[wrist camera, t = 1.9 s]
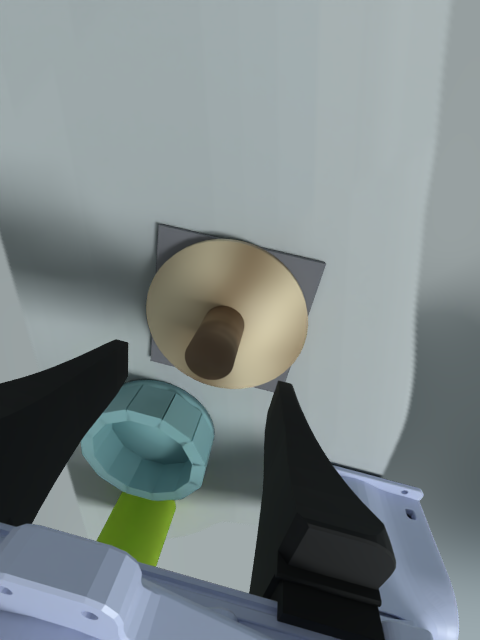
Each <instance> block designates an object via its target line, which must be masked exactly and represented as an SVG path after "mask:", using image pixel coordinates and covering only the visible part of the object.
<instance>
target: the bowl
mask: <svg viewBox="0 0 480 640" xmlns="http://www.w3.org/2000/svg"><path fill="white" fill-rule="evenodd" d="M214 435H215V432H214V425H213V422H212V419H211V417H210V415H209V414H208V412H207V410H206V409H205V408H204V407H203V405H202V404H201V403H200V402H199V401H198V400H197V399H195V398H194V397H193V396H192V395H190V394H189V393H187V392H186V391H184V390H182V389H180V388H178V387H176V386H174V385H171V384H168V383H165V382H161V381H156V380H135V381H131V382H127V383H125V384H123V386H122V387H121V389H120V391H119V392H118V394H117V395H116V397H115V398H114V399H113V400H112V402H111V403H110V404H109V406H108V407H107V408H106V409H105V411H104V412H103V413H102V414H101V416H100V417H99V418H98V419H97V421H96V422H95V423H94V424H93V426H92V427H91V428H90V429H89V431H88V432H87V433H86V435H85V436H84V437H83V439H82V440H81V448H82V454H83V456H84V457H85V459H86V460H87V461H88V463H89V464H90V465H91V467H92V468H93V469H94V471H95V472H96V473H97V474H98V476H99V477H101V478H102V479H104V480H106V481H107V482H109V483H110V484H112V485H113V486H115V487H117V488H118V489H120V490H121V491H123V492H125V491H126V493H127V494H131V495H135V496H138V497H142V498H145V499H149V500H152V501H154V500H155V501H164V500H179V499H183V498H185V497H186V496H188V495H190V494H191V493H193V492H194V491H196V490H197V489H199V488H200V487H201V486H202V482H203V478H204V475H205V471H206V468H207V464H208V461H209V457H210V453H211V448H212V445H213V441H214Z"/></svg>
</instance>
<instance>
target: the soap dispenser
mask: <svg viewBox="0 0 480 640" xmlns="http://www.w3.org/2000/svg"><path fill="white" fill-rule="evenodd" d="M175 509H176V505H175V502H174V500H164V501H155V500H154V501H152V500H149V499H145V498H142V497H138V496H135V495H131V494H127V493H126V491H125V492H123V491H122V493H121V495H120V497H119V499H118V501H117V503H116V505H115V507H114V508H113V510H112V512H111V514H110V516H109V518H108V520H107V522H106V524H105V526H104V528H103V529H102V531H101V533H100V535H99V537H98V539H97V541H98V542H101V543H105V544H108V545H112V546H114V547H116V548H119V549H121V550H123V551H126V552H127V553H128V554H130V555H131V556H132V557H133V558H135V559H136V560H137V562H141V563H144V564H148V565H151V566H155V567H156V565H157V562H158V559H159V556H160V553H161V550H162V547H163V544H164V541H165V539H166V536H167V533H168V530H169V527H170V524H171V521H172V518H173V515H174V512H175Z"/></svg>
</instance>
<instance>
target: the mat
mask: <svg viewBox="0 0 480 640" xmlns="http://www.w3.org/2000/svg"><path fill="white" fill-rule="evenodd" d="M211 239H224V238H219V237H215V236H211V235H206V234H202V233H198V232H194V231H189V230H185V229H181V228H177V227H172V226H168V225H164V224H160V225H159V229H158V246H157V262H156V273H157V272H158V270H159V269H160V268H161V267H162V265H163V264H164V263H165V262H166V261H167V260H169V259H170V258H171V257H172V256H173V255H175V254H176V253H178V252H179V251H181V250H182V249H184V248H186V247H188V246H190V245H192V244H195V243H197V242H201V241H205V240H211ZM260 248H262V247H260ZM262 249H264V250H266V251H267V252H269V253H271V254H272V255H274V256H275V257H276V258H277V259H279V260H280V261H281V262H282V263H283V264H284V265H285V266H286V267H287V268H288V269H289V270H290V271H291V273H292V274H293V276H294V277H295V278H296V280H297V282H298V284H299V286H300V288H301V290H302V292H303V295H304V298H305V302H306V308H307V315H309V312H310V309H311V306H312V303H313V300H314V297H315V294H316V291H317V289H318V286H319V283H320V280H321V277H322V274H323V271H324V268H325V265H326V263H325V262H322V261H317V260H313V259H309V258H305V257H300V256H296V255H292V254H287V253H283V252H279V251H275V250H270V249H266V248H262ZM151 361H154V362H158V363H162V364H166V365H170V366H174V365H173V364H171V363H170V362H169V360H168V359H167V358H166V357H165V356H164V355H163V353H162V352H161V351H160V350H159V348H158V346H157V345H156V343H155V341H154V339H153V337H152V345H151ZM174 367H175V366H174ZM290 367H291V366H290ZM290 367H289V368H288V369H287V370H286V371H285V372H284V373H283V374H281V375H280V376H278V377H277V378H275V379H273V380H271V381H269V382H267V383H264V384H262V385H259V386H255V388H259V389H263V390H267V391H271V392H275V389H276V386H277V382H278V381H282V382H285V381H286V378H287V375H288V373H289V370H290Z"/></svg>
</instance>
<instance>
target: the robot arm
mask: <svg viewBox="0 0 480 640" xmlns="http://www.w3.org/2000/svg"><path fill="white" fill-rule="evenodd" d="M127 377H128V342H124V341H120V340H113V341H111V342H109V343H106V344H104V345H102V346H100V347H98V348H96V349H94V350H92V351H89V352H87V353H85V354H83V355H81V356H78V357H76V358H74V359H72V360H69V361H67V362H64V363H62V364H59V365H57V366H55V367H52V368H49V369H47V370H44V371H41V372H38V373H35V374H32V375H29V376H26V377H23V378H19V379H15V380H12V381H8V382H5V383H1V384H0V640H458V635H459V617H458V609H457V603H456V598H455V594H454V590H453V587H452V584H451V581H450V578H449V576H448V573H447V571H446V568H445V566H444V563H443V561H442V558H441V555H440V553H439V550H438V548H437V545H436V543H435V540H434V538H433V535H432V533H431V530H430V528H429V525H428V522H427V520H426V517H425V515H424V512H423V510H422V507H421V505H420V502H419V500H420V499H421V498H422V497H423V492H422V490H421V489H420V488H417V487H413V486H409V485H406V484H402V483H398V482H394V481H391V480H387V479H383V478H379V477H376V476H372V475H368V474H364V473H361V472H357V471H353V470H349V469H346V468H342V467H338V466H334V465H332V464H331V462H330V461H329V459H328V458H327V456H326V455H325V453H324V452H323V450H322V448H321V447H320V445H319V443H318V442H317V440H316V438H315V436H314V434H313V432H312V431H311V429H310V427H309V425H308V423H307V420H306V418H305V416H304V414H303V412H302V409H301V407H300V405H299V402H298V400H297V397H296V394H295V391H294V388H293V386H292V384H290V383H286V382H282V381H278V382H277V386H276V389H275V392H274V395H273V398H272V401H271V404H270V407H269V410H268V413H267V420H266V427H265V441H264V481H263V494H262V502H261V511H260V519H259V527H258V535H257V542H256V550H255V557H254V564H253V571H252V578H251V585H250V592H249V593H245V592H242V591H238V590H235V589H232V588H228V587H224V586H221V585H218V584H214V583H211V582H207V581H204V580H200V579H196V578H193V577H189V576H186V575H183V574H179V573H175V572H172V571H168V570H165V569H161V568H158V567H155V566H151V565H148V564H144V563H141V562H137V560H136V559H135V558H133V557H132V556H131V555H130V554H128V553H127V552H126V551H123V550H121V549H119V548H116V547H114V546H112V545H108V544H105V543H101V542H98V541H94V540H91V539H87V538H83V537H80V536H76V535H73V534H69V533H66V532H62V531H59V530H55V529H52V528H48V527H45V526H41V525H35V524H32V522H33V521H34V519H35V517H36V515H37V513H38V511H39V509H40V508H41V506H42V504H43V502H44V501H45V499H46V497H47V495H48V493H49V492H50V490H51V488H52V487H53V485H54V483H55V482H56V480H57V478H58V477H59V475H60V473H61V472H62V470H63V468H64V467H65V465H66V463H67V462H68V460H69V459H70V457H71V456H72V454H73V452H74V451H75V449H76V448H77V446H78V445H79V443H80V442H81V440H82V439H83V437H84V436H85V435H86V433H87V432H88V431H89V429H90V428H91V427H92V426H93V424H94V423H95V422H96V421H97V419H98V418H99V417H100V416H101V414H102V413H103V412H104V411H105V409H106V408H107V407H108V406H109V404H110V403H111V402H112V400H113V399H114V398H115V397H116V395H117V394H118V392H119V391H120V389H121V387H122V386H123V384H124V382H125V380H126V379H127Z"/></svg>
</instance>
